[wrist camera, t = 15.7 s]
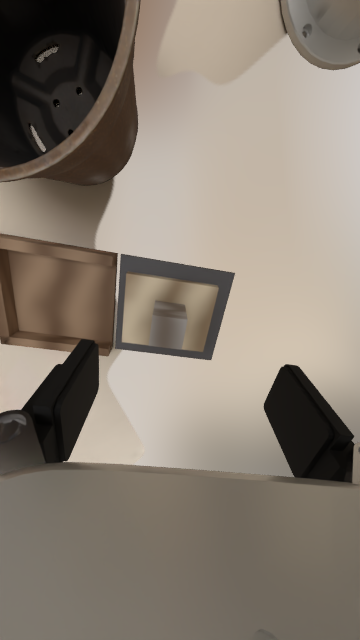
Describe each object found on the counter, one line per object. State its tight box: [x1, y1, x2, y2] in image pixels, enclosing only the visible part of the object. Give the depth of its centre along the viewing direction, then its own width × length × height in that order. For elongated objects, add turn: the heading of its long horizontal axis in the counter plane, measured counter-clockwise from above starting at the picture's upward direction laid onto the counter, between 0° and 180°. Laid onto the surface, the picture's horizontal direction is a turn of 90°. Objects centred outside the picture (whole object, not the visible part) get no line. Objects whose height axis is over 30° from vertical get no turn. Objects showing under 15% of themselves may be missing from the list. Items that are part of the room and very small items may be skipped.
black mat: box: [115, 254, 235, 360], centre depth 31 cm, size 15×14×1 cm
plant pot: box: [0, 0, 140, 185], centre depth 15 cm, size 16×16×16 cm
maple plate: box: [122, 271, 219, 352], centre depth 28 cm, size 12×10×6 cm
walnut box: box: [0, 234, 118, 356], centre depth 29 cm, size 14×14×3 cm
